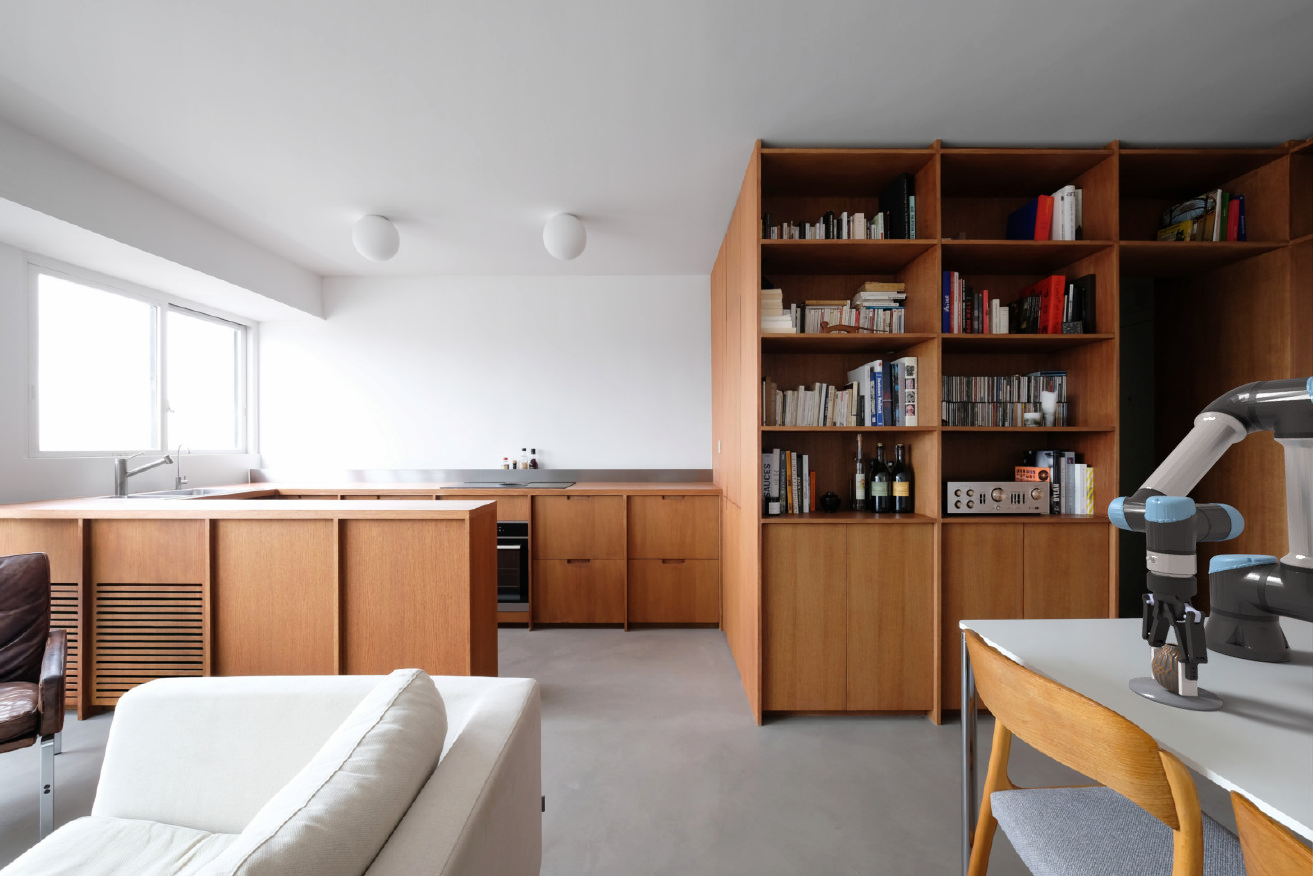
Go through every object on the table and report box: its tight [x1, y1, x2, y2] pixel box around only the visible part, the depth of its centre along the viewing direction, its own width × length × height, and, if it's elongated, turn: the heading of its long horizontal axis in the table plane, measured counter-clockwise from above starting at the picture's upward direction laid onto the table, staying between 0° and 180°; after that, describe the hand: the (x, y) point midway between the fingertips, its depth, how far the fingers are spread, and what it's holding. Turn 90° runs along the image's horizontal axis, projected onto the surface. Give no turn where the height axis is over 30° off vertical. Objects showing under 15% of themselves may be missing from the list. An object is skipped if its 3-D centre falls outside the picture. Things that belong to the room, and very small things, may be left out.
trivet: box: [1128, 676, 1223, 712], centre depth 115 cm, size 14×14×1 cm
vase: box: [1151, 642, 1189, 692], centre depth 115 cm, size 7×7×9 cm
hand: (1173, 686), depth 115 cm, fingers closed on vase, 7 cm apart
